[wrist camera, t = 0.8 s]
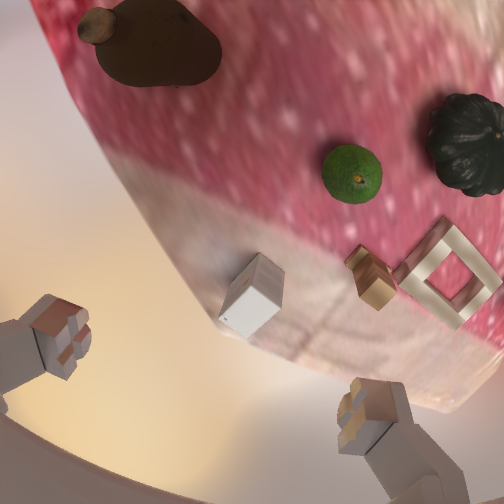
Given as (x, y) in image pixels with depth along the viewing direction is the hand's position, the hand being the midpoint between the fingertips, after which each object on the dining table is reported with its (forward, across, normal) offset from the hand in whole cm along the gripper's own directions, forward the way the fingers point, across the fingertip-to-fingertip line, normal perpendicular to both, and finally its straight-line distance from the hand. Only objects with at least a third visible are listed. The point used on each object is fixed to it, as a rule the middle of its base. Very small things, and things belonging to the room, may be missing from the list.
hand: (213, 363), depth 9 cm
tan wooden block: (+41, -18, +14) cm, 46 cm away
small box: (+41, -1, +21) cm, 46 cm away
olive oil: (+41, +16, -12) cm, 45 cm away
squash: (+40, -26, -10) cm, 49 cm away
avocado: (+41, -10, -1) cm, 42 cm away
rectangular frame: (+40, -33, +11) cm, 53 cm away
